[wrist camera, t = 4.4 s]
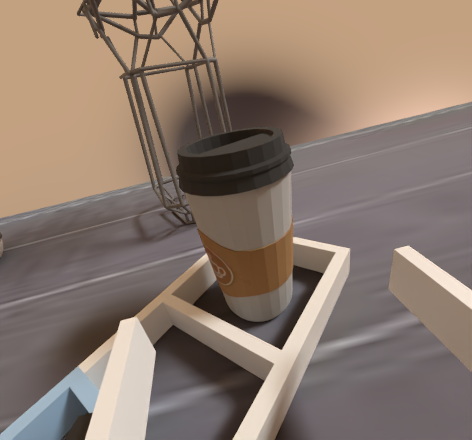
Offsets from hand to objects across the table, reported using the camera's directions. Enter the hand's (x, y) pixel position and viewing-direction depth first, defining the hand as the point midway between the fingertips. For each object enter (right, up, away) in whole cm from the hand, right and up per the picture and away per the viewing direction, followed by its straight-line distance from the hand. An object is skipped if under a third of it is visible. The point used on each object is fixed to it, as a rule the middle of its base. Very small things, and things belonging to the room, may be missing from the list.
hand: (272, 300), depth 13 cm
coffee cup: (0, -3, +12) cm, 12 cm away
